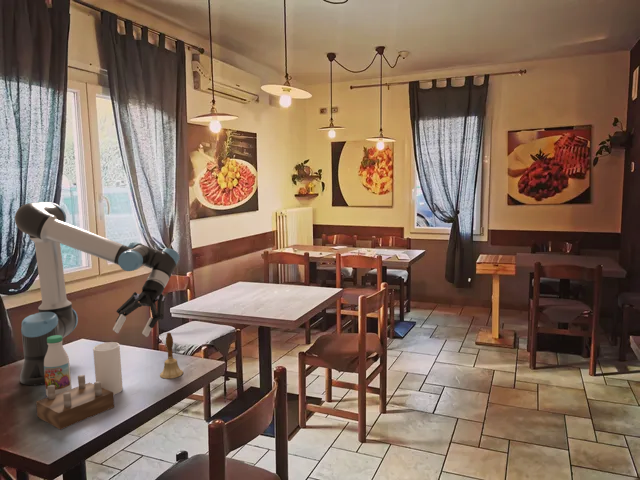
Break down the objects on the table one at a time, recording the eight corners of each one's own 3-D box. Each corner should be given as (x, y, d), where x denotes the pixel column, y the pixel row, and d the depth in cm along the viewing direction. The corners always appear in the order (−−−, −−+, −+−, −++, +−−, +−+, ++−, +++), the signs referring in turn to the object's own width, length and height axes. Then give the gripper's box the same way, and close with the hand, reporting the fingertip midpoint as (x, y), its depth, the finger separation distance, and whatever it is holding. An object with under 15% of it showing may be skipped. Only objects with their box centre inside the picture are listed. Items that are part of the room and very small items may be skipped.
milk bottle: (48, 390, 168) (43, 334, 166) (73, 387, 171) (68, 332, 168) (44, 399, 161) (39, 341, 158) (70, 395, 163) (65, 338, 161)
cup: (114, 396, 162) (111, 350, 160) (91, 395, 163) (88, 350, 161) (127, 386, 170) (124, 342, 168) (105, 385, 171) (101, 341, 169)
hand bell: (155, 378, 178) (152, 335, 176) (167, 369, 186) (165, 329, 184) (175, 379, 176) (173, 337, 174) (187, 371, 184) (185, 330, 182)
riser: (37, 416, 149) (34, 388, 148) (90, 396, 162) (88, 371, 161) (60, 429, 141) (57, 400, 140) (114, 407, 154) (112, 380, 153)
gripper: (186, 291, 185) (163, 341, 173) (135, 287, 194) (109, 334, 182) (177, 280, 180) (152, 331, 168) (124, 277, 189) (97, 325, 177)
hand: (129, 333), depth 175 cm, fingers open, 13 cm apart
